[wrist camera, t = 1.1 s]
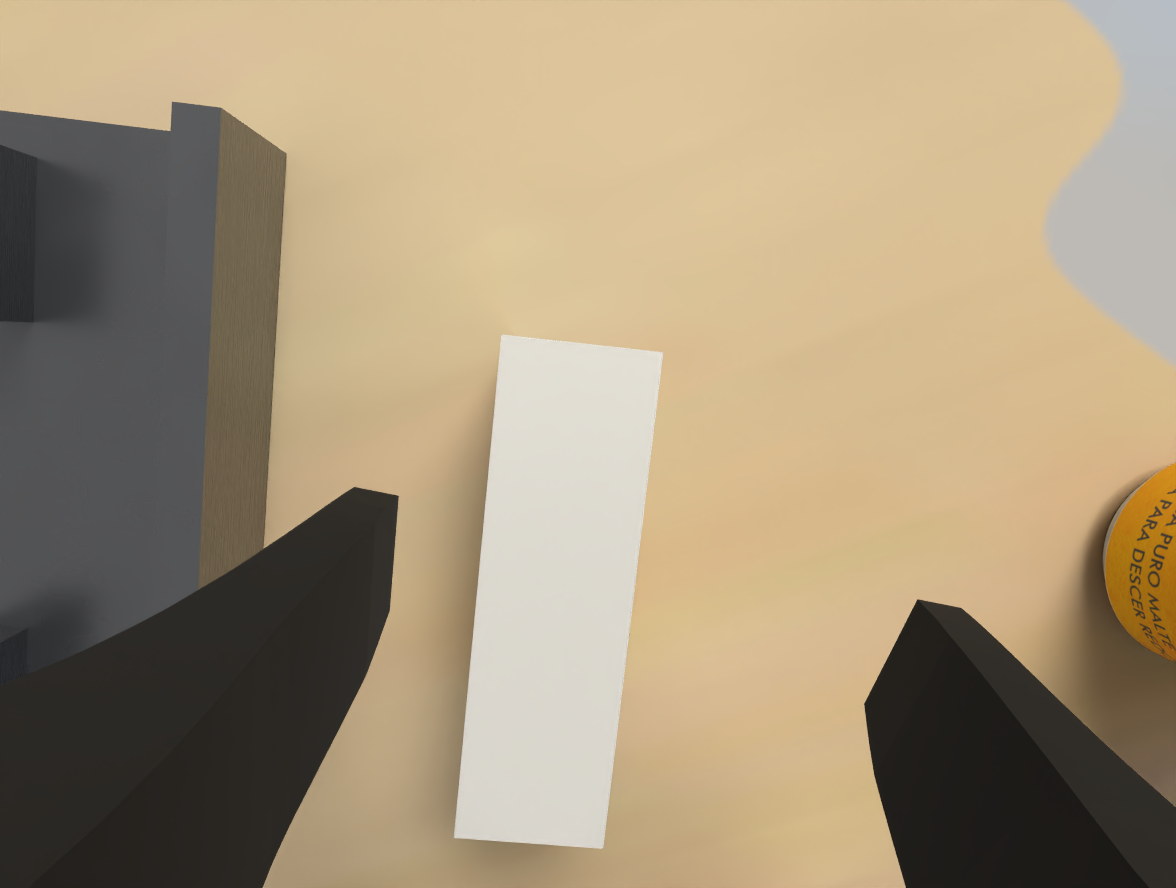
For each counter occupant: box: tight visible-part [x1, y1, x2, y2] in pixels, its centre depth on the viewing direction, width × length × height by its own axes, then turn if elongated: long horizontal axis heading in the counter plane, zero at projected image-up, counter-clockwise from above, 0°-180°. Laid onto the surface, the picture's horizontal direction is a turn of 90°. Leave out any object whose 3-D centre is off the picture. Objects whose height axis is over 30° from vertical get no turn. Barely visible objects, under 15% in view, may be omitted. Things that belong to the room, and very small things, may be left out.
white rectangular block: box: [454, 334, 663, 849], centre depth 18 cm, size 10×3×7 cm, turn 174°
